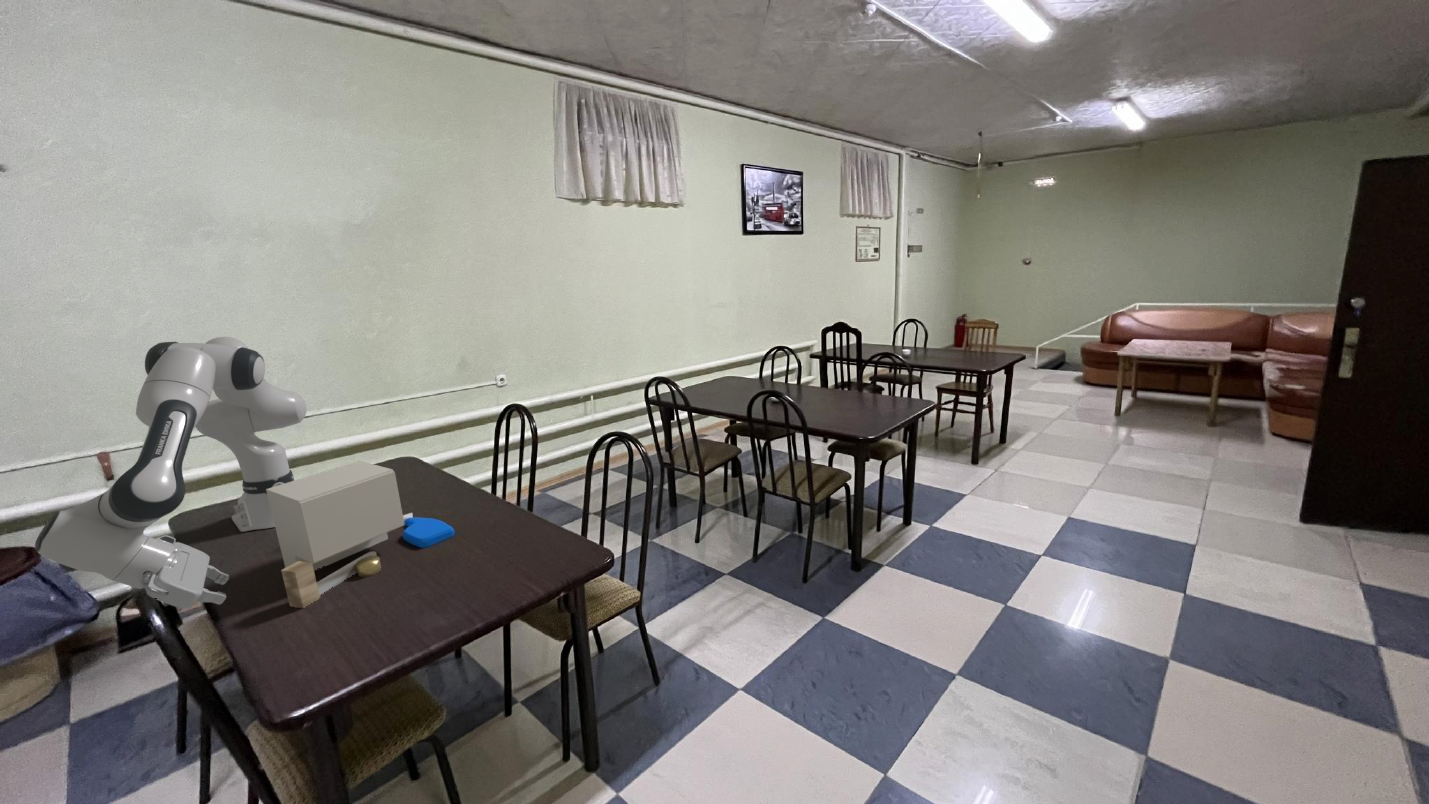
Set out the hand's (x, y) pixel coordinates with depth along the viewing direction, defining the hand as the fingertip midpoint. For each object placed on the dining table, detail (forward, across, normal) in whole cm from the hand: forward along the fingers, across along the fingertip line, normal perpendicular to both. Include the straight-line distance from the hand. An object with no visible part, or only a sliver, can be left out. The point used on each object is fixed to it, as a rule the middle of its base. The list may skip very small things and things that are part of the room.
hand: (225, 589), depth 118 cm
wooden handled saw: (+20, +5, -8) cm, 22 cm away
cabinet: (+22, +18, -10) cm, 30 cm away
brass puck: (+24, +6, -12) cm, 28 cm away
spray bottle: (+35, +22, -22) cm, 47 cm away
